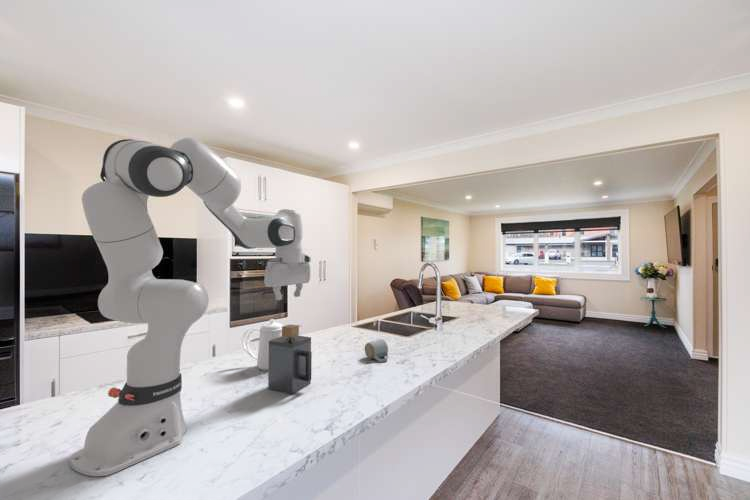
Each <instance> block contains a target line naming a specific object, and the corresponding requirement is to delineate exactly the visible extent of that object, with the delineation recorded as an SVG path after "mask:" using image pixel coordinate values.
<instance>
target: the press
mask: <svg viewBox="0 0 750 500" xmlns="http://www.w3.org/2000/svg"><path fill="white" fill-rule="evenodd" d="M267 371H268V374H267V375H268V377H267V379H268V381H267V383H268V387H267V389H268V390H270V391H273V392H274V391H275V392H278V393H283V394H287V395H290V396H291V395H294V394H296V393H298V392H299V391H301V390H303V389H305V388H306V387H308V386H309V385H311V383H312V382H311V381H312V336H311V337H310V336H303V335H297V336H294V337H292V340H289V337H284V336H281V337H278V338H276V339H273V340H270V341H269V364H268V370H267Z"/></svg>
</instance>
